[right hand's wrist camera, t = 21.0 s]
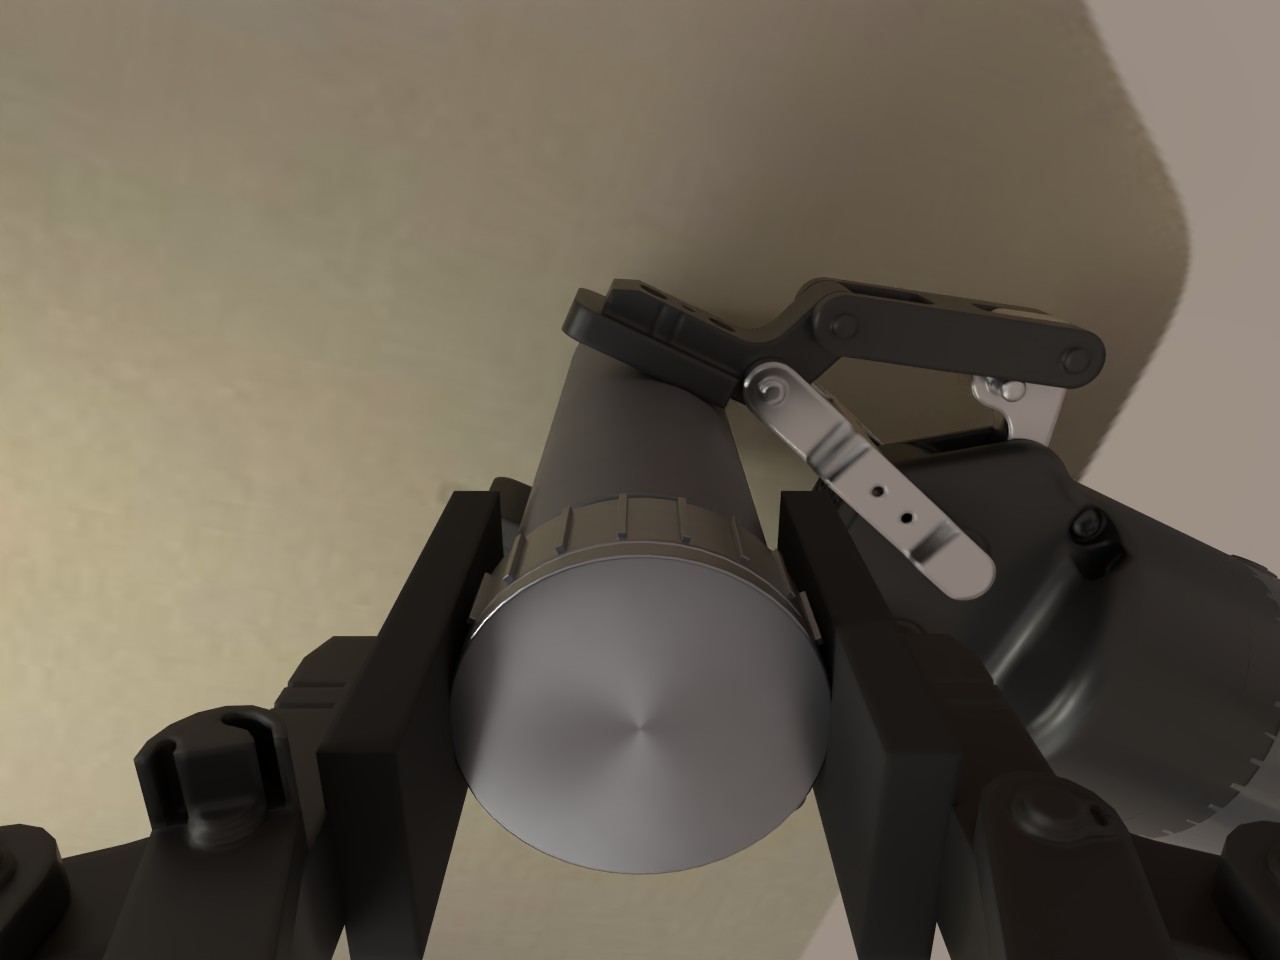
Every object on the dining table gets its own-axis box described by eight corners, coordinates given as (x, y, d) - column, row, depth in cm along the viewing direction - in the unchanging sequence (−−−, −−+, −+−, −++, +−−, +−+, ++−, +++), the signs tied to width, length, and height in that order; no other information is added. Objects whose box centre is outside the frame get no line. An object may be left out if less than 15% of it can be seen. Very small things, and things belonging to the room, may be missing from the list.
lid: (884, 631, 12) (922, 707, 10) (660, 839, 13) (663, 934, 12) (616, 419, 11) (612, 467, 9) (400, 669, 12) (364, 749, 11)
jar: (711, 306, 25) (805, 531, 11) (712, 445, 26) (797, 805, 12) (564, 312, 25) (461, 543, 11) (574, 451, 27) (497, 815, 12)
